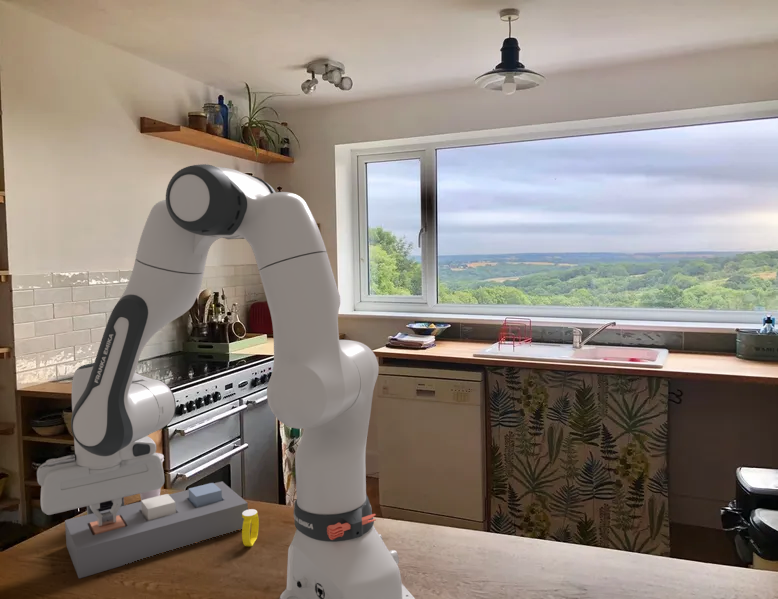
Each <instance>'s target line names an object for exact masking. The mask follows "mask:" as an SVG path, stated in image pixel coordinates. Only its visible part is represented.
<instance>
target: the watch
mask: <svg viewBox="0 0 778 599" xmlns="http://www.w3.org/2000/svg"><path fill="white" fill-rule="evenodd" d="M242 517H243V518H244V521H243V527H242V530H241V539H242V545H244V546H245V547H253V546H254V544H255V542H256V540H257V539H258V536H259V529H260V528H259V527H260V526H259V525H260V522H259V521H260V520H259V515H258V510H256V509H254V508H251V509H250V508H248V510H245V511H244V512H243V513H242Z"/></svg>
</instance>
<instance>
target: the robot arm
mask: <svg viewBox="0 0 778 599" xmlns="http://www.w3.org/2000/svg"><path fill="white" fill-rule="evenodd" d="M219 239H225V240H241V239H242V240H245V241H246V242H248V244H249V245H250V247H251V249H252V253H253V256H254V259H255V261H256V262H255V263H256V265H257V270H258V272H259V276H260V280H261V283H262V287H263V291H264V295H265V298H266V302H267V306H268V309H269V313H270V317H271V323H272V331H273V332H272V333H273V334H272V335H273V366H272V371H271V374H270V375H271V376H270V377H269V380H268V383H267V387H266V399H267V403H268V406H269V408H270V411H271V413H272V414H273V415H274V417H275V418H276V419H277V420H278V421H279V422H280V423H282V424H283V425H285V426H287V427H288V428H293V429H297V430H300V429H301V430H302V429H303V432H302V436H301V437H300V438H301V439H300V442H299V443H298V446H297V448H296V451H295V456H294V457H295V458H294V460H295V461H294V463H295V487H296V488H295V489H296V490H295V492H296V499H295V500H294V507H293V518H294V519H293V520H294V523H293V524H294V527H295V528H296V529H295V533H294V536H293V538H292V540H291V542H290V545H289V546H288V550H287V567H286V570H287V571H286V573H287V574H286V588H285V589H284V591H282V593H281V594H280V596H279V599H416V598H415V597H414V595H412V593H411V592H410V591H409V590H408V589H407V587H406V586H405V585H404V584H403V583H402V576H401V575H402V574H401V572H400V568H399V566H398V565H399V561H400V560H399V559H400V558H399V554H398V552H397V550H395V549H392V550H391V549H390V550H389V549H388V547H387V545H386V544H385V542H384V540H383V536H382V534H380V533H379V532H378V530H376V528H375V525H374V523H375V521H376V519H375V518H374V517H376V515H377V514H376V513H373V512H372V510H373V509H372V505H371V503H370V499H369V496H368V495H367V482H366V481H367V478H366V476H367V474H366V473H367V472H366V471H367V469H366V449H367V442H368V440H367V439H368V438H367V437H368V432H369V425H370V419H371V412H372V404H373V403H372V402H373V396H374V389H375V385H376V382H377V380H378V376H379V369H380V368H379V367H380V366H379V363H378V359H377V356H376V354H375V352H374V351H373V350H372V349H371V348H370V347H369V346H368V345H366V344H365V343H363V342H360V341H358V340H351V339H350V340H349V339H340V335H339V310H340V306H341V296H340V292H339V289H338V285H337V282H336V278H335V275H334V271H333V268H332V264H331V261H330V258H329V255H328V251H327V247H326V245H325V242H324V239H323V237H322V234H321V231H320V228H319V227H318V224H317V221H316V220H315V218H314V215H313V213H312V211H311V209H310V208H309V206H308V204H307V202H306V201H305V200H304V198H302V196H300V195H298V194H296V193H293V192H289V191H278V192H277V191H275V189H274V188H273V187H272V186H271V185H270V184H269V183H268V182H267V181H265V180H263V179H262V178H260V177H256V176H255V175H254V176H253V175H249V174H247V173H244V172H241V171H239V170H238V169H233V168H229V167H222V166H214V165H211V164H208V163H207V164H206V163H205V164H203V163H202V164H193V165H189V166H188V165H187V166H185V167H183V168H181V169H179V170H178V171H177V172H176V173H174V174H173V176H172V177H171V179H170V181H169V182H168V184H167V187H166V192H165V199H162V200H160V201H158V202H156V203H155V204H154V205H153V206H152V208H151V210H150V212H149V215H148V216H147V218H146V222H145V224H144V226H143V228H142V233H141V235H140V239H139V242H138V245H137V251H136V255H135V260H134V263H133V264H134V265H133V268H132V272H131V274H130V276H129V277H130V278H129V280H128V282H127V285H126V288H125V289H124V291H123V293H122V295H121V296H120V298H119V300H118V301H117V303H116V305H114V308H113V309H112V311H111V313H110V316H109V317H108V321H107V323H106V326H105V329H104V332H103V335H102V338H101V340H100V344H99V347H98V350H97V354H96V356H95V359H94V362H91V363H87V364H82V365H80V366H79V367H78V368H77V369H76V370H74V373H73V376H72V383H71V410H72V411H71V412H72V414H71V418H70V428H71V433H72V435H73V442H74V454H69V455H66V456H61V457H58V458H49V459H47V460H46V461H45V462H43V463H42V464H40V466H38V468H37V470H36V481H37V483H38V485H39V486H41V488H40V508H41V511H42V513H43V514H46V515H48V516H51V515H54V514H55V515H56V514H60V513H64V512H67V511H71V510H76V509H80V508H85V507H87V506H89V505H90V508H91V510H92V512H93V513H94V514H95V515H96V516H97V523H98V526H99V527H100V526H103V525H107V524H111V523H115V522H116V513H117V512H118V510H119V508H120V506H121V504H122V498H123V497H124V498H127V497H132V496H135V495H140V493H144V492H148V491H153V490H157V489H160V490H161V489H162V487H163V486H164V484H165V473H164V472H165V471H164V467H163V462H161V459H160V457H159V456H158V455H157V454H156V453H157V444H156V442H155V441H154V439H152V438H151V437H149V436H150V435H151V434H153V433H155V432H158V431H160V430H162V429H164V427H166V426H167V425H169V424H170V423H171V422H172V421H173V419H174V416H175V413H176V409H177V408H176V407H177V404H176V398H175V395H174V393H173V391H172V389H171V388H170V386H169V385H168V384H167V383H166V382H164V381H163V380H161V379H158V378H150V377H148V376H144V375H141V374H139V373H137V372H136V370H137V367H138V363H139V361H140V356H141V354H142V351H143V349H145V347H146V345H147V343H148V342H149V341H150V340H151V339H152V337H154V335H155V334H156V333H158V332H160V330H161V329H163V328H164V327H166V326H167V325H168V324H170V323H172V322H174V321H175V320H176V319H178V318H180V317H181V316H183V315H184V314H185V313H187V312H188V311H189V310H190V309H191V308H192V307H193V306H194V304H195V302H196V300H197V298H198V295H199V293H200V290H201V288H202V284H203V278H204V273H205V268H206V264H207V259H208V254H209V251H210V248H211V247H212V246H213V244H214V243H215V242H216V241H218V240H219ZM110 500H112V502H113V506H112V508H111V510H110V511H109V512H105V513H100V512H99V511H98V509H99V508H100V503H102V502H106V501H110Z"/></svg>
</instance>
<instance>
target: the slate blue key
mask: <svg viewBox="0 0 778 599" xmlns="http://www.w3.org/2000/svg"><path fill="white" fill-rule="evenodd" d="M187 490H188V491H189V502H190V503H191V504H192V505H193V506H194V507H195V508H197V507H201V506H205V505H208V504H212V503H216V502H220V501H222V490H221V489H220V488H219V487H217V486H216V485H215V484H214V482H209V483H205V484H203V485H202V484H201V485H198V486H194V487H190V488H188V489H187Z"/></svg>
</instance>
